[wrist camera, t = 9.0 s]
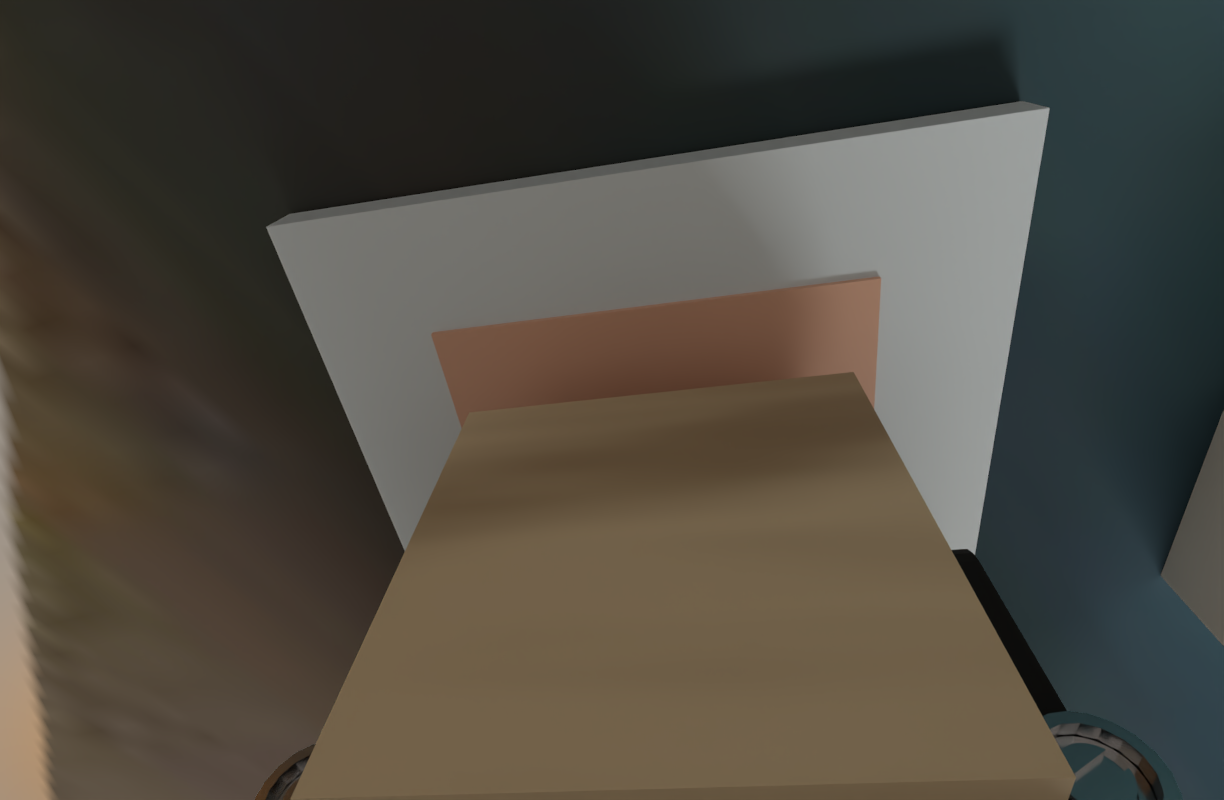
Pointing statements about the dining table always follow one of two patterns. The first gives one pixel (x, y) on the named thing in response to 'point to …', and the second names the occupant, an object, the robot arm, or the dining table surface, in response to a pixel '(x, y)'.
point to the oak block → (683, 619)
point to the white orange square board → (689, 291)
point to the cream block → (1202, 543)
